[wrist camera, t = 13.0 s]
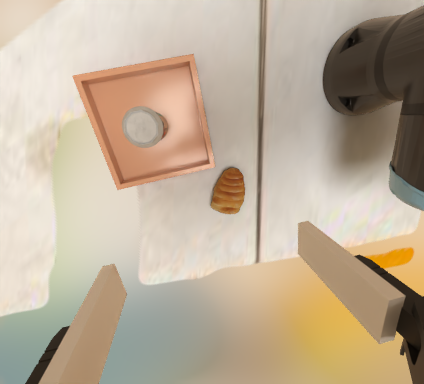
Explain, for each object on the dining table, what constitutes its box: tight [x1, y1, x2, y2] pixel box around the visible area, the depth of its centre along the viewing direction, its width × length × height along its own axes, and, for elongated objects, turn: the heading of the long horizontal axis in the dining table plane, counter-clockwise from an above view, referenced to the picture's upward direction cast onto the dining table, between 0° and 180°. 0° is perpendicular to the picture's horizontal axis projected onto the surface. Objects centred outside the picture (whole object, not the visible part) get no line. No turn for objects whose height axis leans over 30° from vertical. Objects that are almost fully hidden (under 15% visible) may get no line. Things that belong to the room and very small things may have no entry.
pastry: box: [211, 168, 245, 214], centre depth 39 cm, size 9×7×4 cm
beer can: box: [122, 106, 168, 148], centre depth 28 cm, size 5×5×12 cm
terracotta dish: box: [73, 54, 215, 190], centre depth 33 cm, size 18×18×4 cm
